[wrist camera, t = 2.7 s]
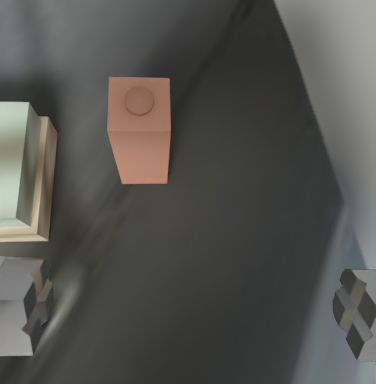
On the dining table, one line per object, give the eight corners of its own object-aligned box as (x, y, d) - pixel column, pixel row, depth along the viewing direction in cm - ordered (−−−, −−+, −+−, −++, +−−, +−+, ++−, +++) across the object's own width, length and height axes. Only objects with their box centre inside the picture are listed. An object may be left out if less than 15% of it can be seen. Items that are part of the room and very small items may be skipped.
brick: (167, 183, 32) (171, 126, 22) (122, 183, 32) (105, 126, 22) (166, 143, 33) (169, 72, 23) (123, 143, 33) (107, 71, 23)
